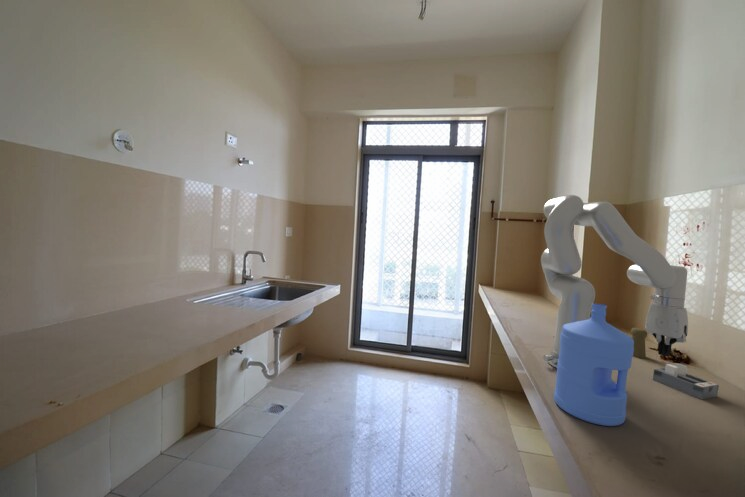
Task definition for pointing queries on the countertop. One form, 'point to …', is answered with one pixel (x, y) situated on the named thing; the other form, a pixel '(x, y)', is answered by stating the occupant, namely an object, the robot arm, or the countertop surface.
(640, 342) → the cork
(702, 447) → the countertop surface
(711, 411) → the countertop surface
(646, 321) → the robot arm
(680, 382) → the switch block
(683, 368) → the outer tab
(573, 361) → the water jug
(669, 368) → the inner tab
